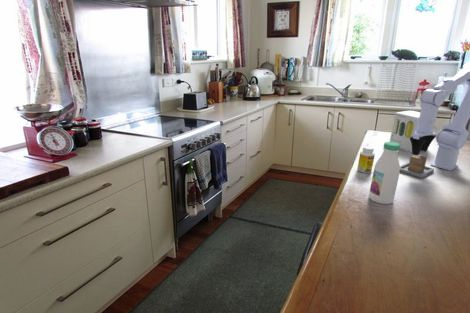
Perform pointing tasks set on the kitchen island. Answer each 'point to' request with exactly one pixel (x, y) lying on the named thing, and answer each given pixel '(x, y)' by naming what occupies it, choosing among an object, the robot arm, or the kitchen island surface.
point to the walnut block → (417, 163)
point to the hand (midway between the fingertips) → (419, 152)
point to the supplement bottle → (366, 159)
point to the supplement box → (404, 128)
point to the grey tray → (419, 175)
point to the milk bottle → (385, 175)
